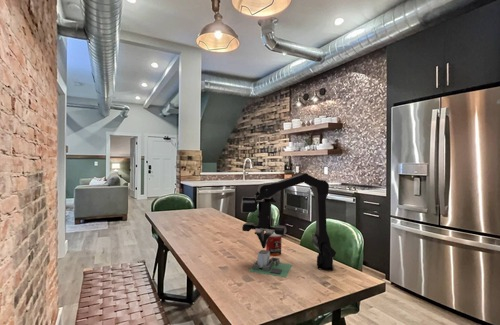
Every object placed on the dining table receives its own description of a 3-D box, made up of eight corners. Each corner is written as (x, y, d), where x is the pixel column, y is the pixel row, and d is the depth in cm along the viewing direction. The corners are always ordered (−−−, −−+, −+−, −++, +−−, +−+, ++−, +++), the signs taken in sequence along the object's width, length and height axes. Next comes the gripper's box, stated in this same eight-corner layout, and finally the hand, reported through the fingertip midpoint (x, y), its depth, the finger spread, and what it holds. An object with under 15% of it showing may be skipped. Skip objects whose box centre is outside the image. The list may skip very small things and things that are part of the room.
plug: (269, 264, 125) (269, 250, 125) (265, 269, 119) (266, 254, 119) (260, 263, 126) (261, 249, 126) (256, 267, 121) (257, 253, 121)
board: (292, 266, 127) (292, 260, 127) (285, 279, 113) (285, 272, 113) (259, 261, 132) (259, 255, 132) (248, 273, 118) (248, 266, 118)
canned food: (269, 258, 137) (269, 236, 137) (263, 253, 145) (264, 232, 145) (283, 257, 139) (284, 235, 139) (277, 252, 147) (278, 231, 147)
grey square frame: (273, 265, 126) (273, 260, 126) (268, 271, 118) (268, 267, 118) (258, 263, 128) (258, 258, 128) (252, 269, 121) (253, 264, 121)
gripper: (289, 211, 128) (288, 245, 128) (250, 208, 134) (249, 240, 134) (284, 215, 117) (283, 252, 117) (242, 212, 123) (241, 247, 123)
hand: (263, 248), depth 123 cm, fingers closed
